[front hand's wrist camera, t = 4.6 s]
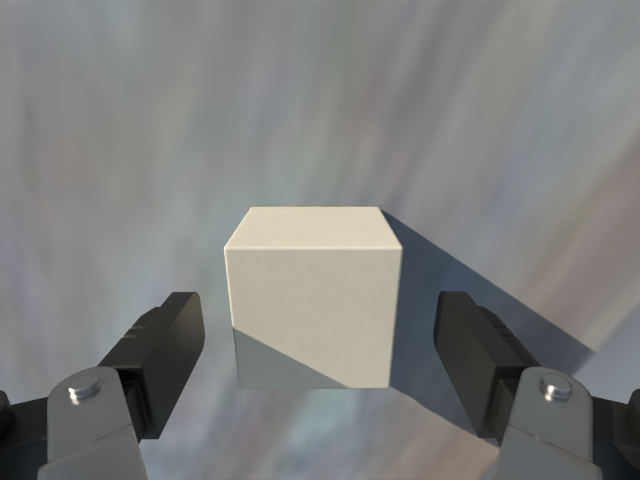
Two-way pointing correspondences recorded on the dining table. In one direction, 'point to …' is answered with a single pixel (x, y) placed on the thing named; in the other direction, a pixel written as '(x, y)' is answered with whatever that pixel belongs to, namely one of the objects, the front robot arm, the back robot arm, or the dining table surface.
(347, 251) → the block
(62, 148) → the dining table surface
